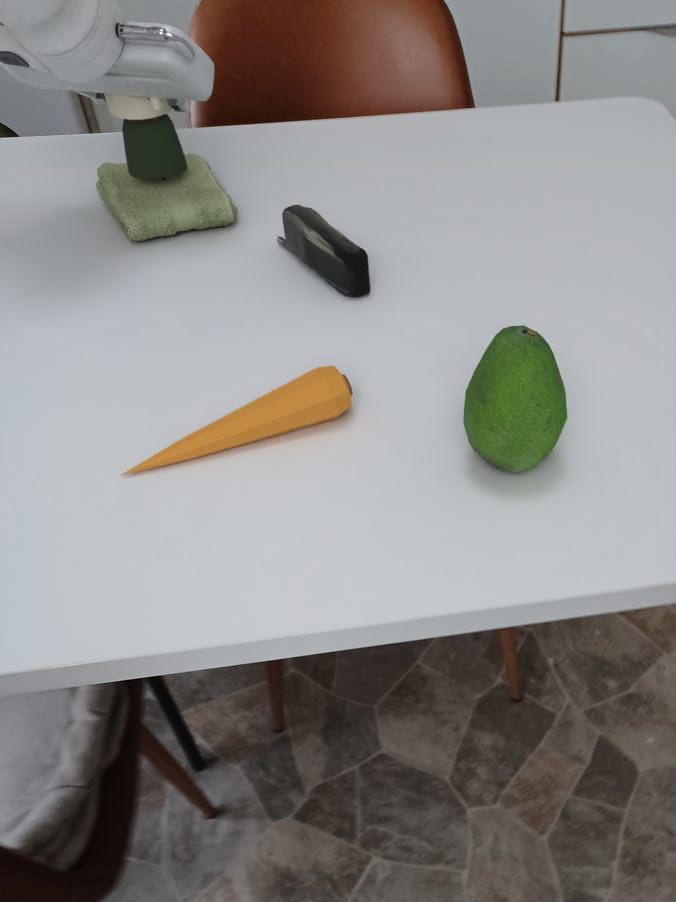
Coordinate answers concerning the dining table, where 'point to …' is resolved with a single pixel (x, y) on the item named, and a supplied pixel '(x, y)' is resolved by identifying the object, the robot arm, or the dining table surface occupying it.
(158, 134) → the character mug
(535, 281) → the dining table surface
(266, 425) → the carrot
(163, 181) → the washcloth
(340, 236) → the black stapler
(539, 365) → the avocado
